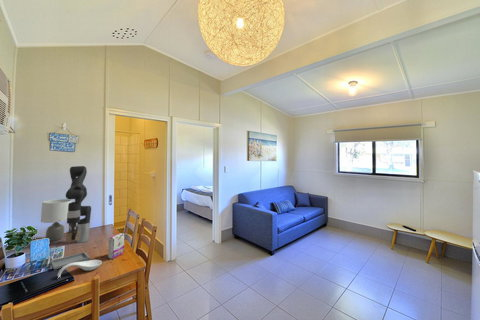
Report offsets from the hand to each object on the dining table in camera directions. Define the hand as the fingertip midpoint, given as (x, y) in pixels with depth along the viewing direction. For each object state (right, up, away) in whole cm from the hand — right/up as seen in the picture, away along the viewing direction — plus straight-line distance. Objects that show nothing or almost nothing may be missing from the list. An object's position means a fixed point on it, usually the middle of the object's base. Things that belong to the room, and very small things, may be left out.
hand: (72, 238), depth 145 cm
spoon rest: (+16, -18, -12) cm, 27 cm away
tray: (-1, -17, -1) cm, 18 cm away
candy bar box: (+25, -19, +12) cm, 34 cm away
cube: (0, -1, 0) cm, 1 cm away
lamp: (-51, -17, +39) cm, 66 cm away
